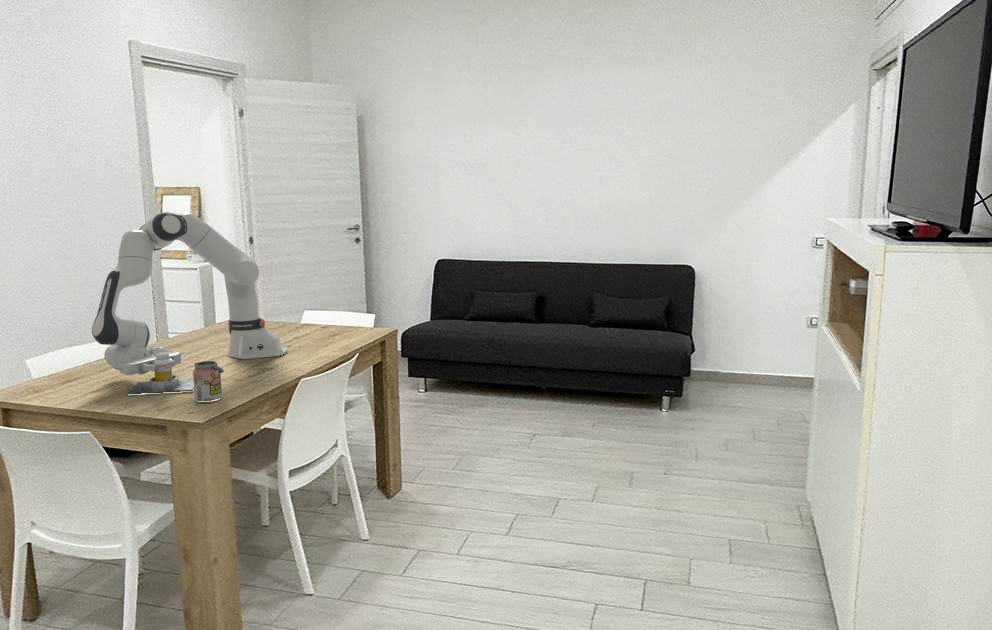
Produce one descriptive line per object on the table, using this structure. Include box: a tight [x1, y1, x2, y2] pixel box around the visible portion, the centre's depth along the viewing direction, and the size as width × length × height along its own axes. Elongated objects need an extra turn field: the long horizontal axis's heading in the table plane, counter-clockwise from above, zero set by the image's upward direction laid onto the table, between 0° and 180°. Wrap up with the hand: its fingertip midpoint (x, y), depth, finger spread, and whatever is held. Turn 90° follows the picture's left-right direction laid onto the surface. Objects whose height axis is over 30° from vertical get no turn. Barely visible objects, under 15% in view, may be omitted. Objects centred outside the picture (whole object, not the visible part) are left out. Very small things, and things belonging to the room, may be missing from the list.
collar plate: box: [126, 374, 194, 395], centre depth 264 cm, size 20×14×4 cm
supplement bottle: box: [154, 352, 173, 381], centre depth 263 cm, size 5×5×10 cm
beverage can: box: [192, 360, 224, 402], centre depth 250 cm, size 9×8×12 cm
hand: (164, 365), depth 262 cm, fingers closed on supplement bottle, 5 cm apart
